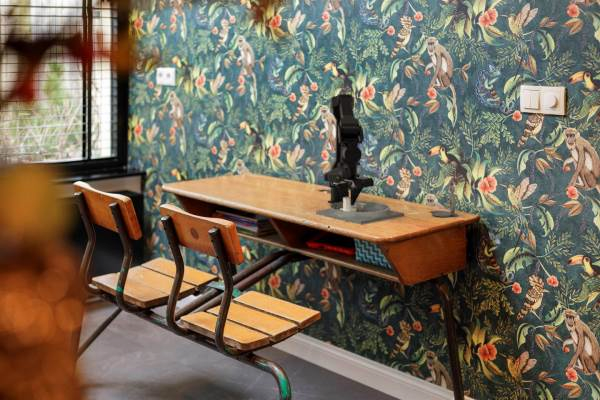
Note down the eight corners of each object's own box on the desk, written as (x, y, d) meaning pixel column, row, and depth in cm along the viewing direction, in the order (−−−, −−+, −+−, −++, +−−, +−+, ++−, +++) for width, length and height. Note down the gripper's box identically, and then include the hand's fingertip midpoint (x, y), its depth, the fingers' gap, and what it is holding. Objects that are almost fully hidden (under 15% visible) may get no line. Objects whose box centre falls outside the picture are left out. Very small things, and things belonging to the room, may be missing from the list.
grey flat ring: (318, 211, 278) (318, 205, 278) (358, 203, 292) (359, 198, 292) (361, 221, 263) (361, 215, 263) (401, 212, 277) (402, 207, 277)
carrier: (316, 214, 279) (316, 205, 278) (358, 206, 293) (358, 197, 292) (361, 224, 263) (361, 215, 262) (403, 215, 277) (404, 206, 277)
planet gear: (336, 213, 274) (336, 197, 273) (347, 211, 278) (348, 195, 277) (348, 215, 270) (348, 199, 269) (359, 213, 274) (359, 197, 273)
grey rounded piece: (428, 215, 279) (429, 186, 277) (445, 212, 284) (446, 184, 282) (444, 219, 272) (446, 190, 270) (462, 216, 277) (463, 188, 275)
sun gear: (350, 211, 278) (350, 203, 277) (359, 210, 281) (359, 201, 280) (360, 214, 274) (360, 205, 274) (369, 212, 278) (369, 203, 277)
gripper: (312, 158, 272) (312, 203, 275) (352, 164, 258) (351, 211, 261) (336, 155, 279) (335, 199, 282) (375, 161, 265) (374, 207, 268)
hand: (348, 204), depth 273 cm, fingers open, 4 cm apart
